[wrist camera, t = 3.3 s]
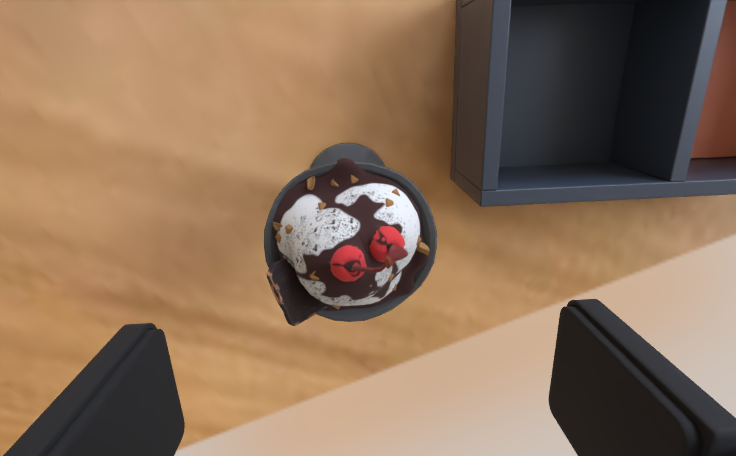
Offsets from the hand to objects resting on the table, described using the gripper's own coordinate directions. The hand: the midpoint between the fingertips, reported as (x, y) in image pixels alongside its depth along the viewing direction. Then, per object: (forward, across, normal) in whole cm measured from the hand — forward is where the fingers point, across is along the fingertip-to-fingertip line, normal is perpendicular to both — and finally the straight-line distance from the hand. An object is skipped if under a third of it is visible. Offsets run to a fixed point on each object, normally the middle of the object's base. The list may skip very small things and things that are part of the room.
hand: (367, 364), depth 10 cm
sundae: (+17, 0, -1) cm, 17 cm away
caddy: (+17, -16, -6) cm, 24 cm away
